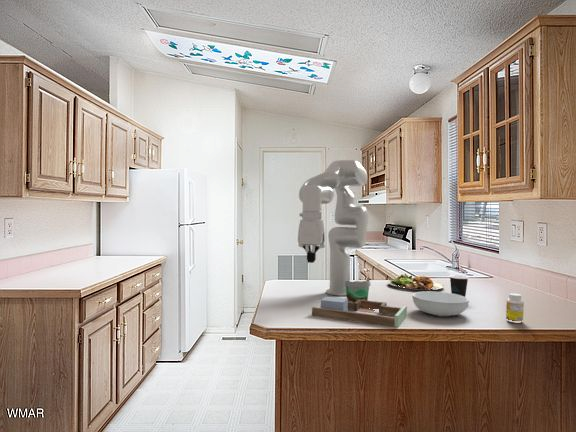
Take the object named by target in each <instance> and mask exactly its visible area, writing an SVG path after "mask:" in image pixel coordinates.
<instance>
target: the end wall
mask: <svg viewBox="0 0 576 432" xmlns="http://www.w3.org/2000/svg"><path fill="white" fill-rule="evenodd" d="M400 308H401V309H400V310H399V311H398V312H397V314H396V315H395V316H394V317H395V328H399V327H400V326H401V324H402V323H403V322H404V320H405V319H406V318H407V317H408V316H407V313H408V306H407V305H403V306H402V307H400ZM406 316H407V317H406ZM405 317H406V318H405ZM404 318H405V319H404ZM402 321H403V322H402ZM401 322H402V323H401Z"/></svg>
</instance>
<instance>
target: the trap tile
mask: <svg viewBox="0 0 576 432" xmlns="http://www.w3.org/2000/svg"><path fill="white" fill-rule="evenodd" d="M363 311H365V313H371V312H374V311H375V310H373V309H369V308H360V309H359V310H357V312H363Z"/></svg>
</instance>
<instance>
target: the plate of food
mask: <svg viewBox="0 0 576 432" xmlns="http://www.w3.org/2000/svg"><path fill="white" fill-rule="evenodd" d="M387 283H388V284H389V285H391V286H394V287H398V285H399V286H400V287H401V288H400V287H399V288H400V289H403V287H405V288H406V289H409V290H411V289H412V290H415V291H416V290H418V291H433V290H434V291H435V290H440V289H443V288H444V287H445V284H443V283H442V282H438V281H435V280H432V279H431V278H430V277H429V276H425V275H421V276H414V277H413V275H412V274H411V275H410V276H408V275H407V273H404V274H401V275H398V276H397V278H394V279H389V280H388V282H387ZM433 286H435V287H437V288H436V289H435V287H433ZM432 287H433V288H432ZM431 288H432V290H431ZM419 289H420V290H419Z"/></svg>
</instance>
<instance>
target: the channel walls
mask: <svg viewBox="0 0 576 432" xmlns="http://www.w3.org/2000/svg"><path fill="white" fill-rule="evenodd" d="M387 303H388V302H382V301H377V300H375V301H373V300H368V301H366V300H358V301H356V302H355V303H354V302H348V311H340V310H332V309H324V308H321V307H316V306H313V307H311V317H318V318H326V319H333V320H340V321H349V322H357V323H363V324H370V323H371V324H372V325H378V324H379V325H378V326H385V325H386V326H387V327H395V316H393V315H396V314H397V312H398V311H399V310H400V309H401V308H402V307H396V306H388V305H387ZM361 308H370V309H379V313H382V314H379V313H378V314H379V315H378V314H372V313H364V312H363V313H362V312H358V310H360V309H361ZM385 314H391V315H390V316H389V315H385ZM395 328H396V327H395Z"/></svg>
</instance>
